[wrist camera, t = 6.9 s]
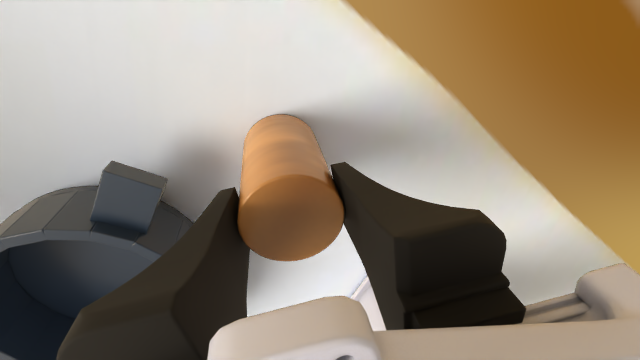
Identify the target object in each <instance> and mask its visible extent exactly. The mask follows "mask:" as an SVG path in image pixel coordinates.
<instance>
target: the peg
mask: <svg viewBox="0 0 640 360" xmlns="http://www.w3.org/2000/svg"><path fill="white" fill-rule="evenodd" d="M344 215H345V214H344V206H343V202H342V200H341V197H340V195H339V193H338V190H337V188H336V185H335V183H334V181H333V178H332V176H331V173H330V171H329V169H328V166H327V164H326V162H325V159H324V157H323V154H322V152H321V150H320V147H319V145H318V143H317V140H316V138H315V135H314V133H313V132H312V130H311V129H310V127H309V126H308V125H307V124H306V123H305V122H303V121H302V120H300V119H298V118H296V117H293V116H290V115H283V114H281V115H272V116H268V117H266V118H263V119H261V120H260V121H258V122H257V123H256V124H254V125H253V126H252V128H251V129H250V130H249V132H248V133H247V135H246V138H245V141H244V148H243V159H242V171H241V183H240V194H239V206H238V218H237V224H238V230H239V233H240V235H241V237H242V239H243V241H244V242H245V244H246V245H247V246H248V247H249V248H250V249H251V250H253V251H254V252H255V253H257V254H259V255H261V256H263V257H265V258H268V259H272V260H276V261H297V260H302V259H305V258H309V257H311V256H314V255H316V254H318V253H320V252H321V251H323V250H324V249H326V248H327V247H328V246H329V245H330V244H331V243H332V242H333V241H334V240H335V239H336V237H337V236H338V234H339V233H340V231H341V228H342V226H343V222H344Z"/></svg>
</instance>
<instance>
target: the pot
mask: <svg viewBox="0 0 640 360" xmlns="http://www.w3.org/2000/svg"><path fill="white" fill-rule="evenodd" d="M167 180H168V179H167V178H164V177H161V176H158V175H155V174H152V173H149V172H146V171H143V170H140V169H137V168H133V167H130V166H127V165H124V164H121V163H118V162H115V161H111V162H110V163H109V164H108V165H107V167H106V168H105V169H104V170H103V171H102V175H101V179H100V183H99V186H87V187H74V188H68V189H62V190H59V191H55V192H51V193H48V194H46V195H43V196H41V197H38V198H36V199H34V200H33V201H31V202H29V203H28V204H26V205H24V206H23V207H22V208H21V209H20V210H18V211H16V212H14V213H13V214H12V215H11V216H9V217H8V218H7V219H6V220H5V221H4V222H3V223H1V224H0V360H57V359H56V357H57V353H58V350H59V348H60V346H61V344H62V342H63V341H64V339H65V337H66V335H67V333H68V332H69V330H70V328H71V326H72V325H73V323H74V321H75V319H76V317H77V316H78V314H79V312H80V310H81V309H82V308H84V307H86V306H88V305H89V304H91V303H93V302H95V301H96V300H98V299H100V298H102V297H103V296H105V295H107V294H108V293H110V292H112V291H113V290H115V289H117V288H118V287H120V286H121V285H123V284H124V283H126V282H127V281H129V280H130V279H132V278H133V277H135V276H136V275H138V274H139V273H140V272H142V271H143V270H144V269H146V268H147V267H148V266H150V265H151V264H152V263H153V262H155V261H156V260H157V259H158V258H160V257H161V256H162V255H163V254H164V253H166V252H167V251H168V250H169V249H170V248H171V247H172V246H173V245H174V244H175V243H176V242H177V241H178V240H179V239H180V238H181V237H182V236H183V235H184V234H185V233H186V232H187V231H188V230H189V229H190V228H191V226H192V225H193V223H192V222H191V221H190V220H189V219H188V218H187V217H185V216H184V215H183V214H181V213H180V212H179V211H177V210H176V209H174V208H172V207H171V206H169V205H167V204H165V203H163V202H161V201H160V199H161V197H162V194H163V191H164V188H165V186H166V183H167Z"/></svg>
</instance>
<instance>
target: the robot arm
mask: <svg viewBox="0 0 640 360" xmlns="http://www.w3.org/2000/svg"><path fill="white" fill-rule="evenodd" d="M331 170H332V176H333V181H334V183H335V185H336V188H337V190H338V193H339V195H340V197H341V200H342V202H343V206H344V214H345V215H344V222H343V223H344V225H345V227H346V229H347V231H348V234H349V236H350V238H351V240H352V242H353V244H354V246H355V248H356V250H357V252H358V254H359V256H360V258H361V260H362V263H363V265H364V267H365V270H366V273H367V277H366V278H365V279H364V281H363V282H362V283H361V285H360V286H359V287H358V288H357V290H356V291H355V292H354V294H353V295H352V296H351V298H348V297H345V296H334V297H323V298H320V299H316V300H312V301H308V302H304V303H300V304H296V305H293V306H289V307H285V308H281V309H277V310H273V311H269V312H266V313H262V314H258V315H254V316H250V317H247V304H246V297H247V280H248V268H249V255H250V248H249V247H248V246H247V245H246V244H245V242H244V241H243V239H242V237H241V235H240V233H239V230H238V224H237V218H238V206H239V197H238V194H237V191H236V189H235V187H234V188H229V189H225V190H221V191H220V192H219V193H218V194H217V195H216V197H215V198H214V199H213V200H212V202H211V203H210V204H209V206H208V207H207V208H206V210H205V211H204V212H203V213H202V215H201V216H200V217H199V218H198V220H197V221H196V222H195V223H194V224H193V225H192V226H191V228H190V229H189V230H188V231H187V232H186V233H185V234H184V235H183V236H182V237H181V238H180V239H179V240H178V241H177V242H176V243H175V244H174V245H173V246H172V247H171V248H170V249H169V250H168V251H167V252H166V253H164V254H163V255H162V256H161V257H160V258H158V259H157V260H156V261H155V262H153V263H152V264H151V265H150V266H148V267H147V268H146V269H144V270H143V271H142V272H140V273H139V274H138V275H136V276H135V277H133V278H132V279H130V280H129V281H127V282H126V283H124V284H123V285H121V286H120V287H118V288H117V289H115V290H113V291H112V292H110V293H108V294H107V295H105V296H103V297H102V298H100V299H98V300H96V301H95V302H93V303H91V304H89V305H88V306H86V307H84V308H82V309H81V310H80V312H79V314H78V316H77V317H76V319H75V321H74V323H73V325H72V326H71V328H70V330H69V332H68V333H67V335H66V337H65V339H64V341H63V342H62V344H61V346H60V348H59V350H58V353H57V357H56V359H57V360H640V275H639V274H638V273H637V272H635V271H634V270H632V269H631V268H630V267H628V266H627V265H626V264H616V265H612V266H608V267H605V268H601V269H597V270H594V271H590V272H588V273H586V274H584V275H583V276H582V277H580V279H579V280H578V282H577V284H576V288H575V293H571V294H568V295H564V296H560V297H557V298H553V299H549V300H545V301H542V302H538V303H534V304H531V305H527V306H524V305H523V304H522V303H521V302H520V301H519V299H518V298H517V297H516V296H515V295H514V294H513V292H512V291H511V290H510V289H509V288H508V286H509V285H510V282H509V280H508V279H507V278H506V276H505V275H504V274H503V273H502V272H501V270H502V266H503V261H504V256H505V251H506V238H505V235H504V233H503V232H502V231H501V230H500V229H499V228H498V227H497V226H496V225H495V224H494V223H493V222H492V221H491V220H490V219H489V218H488V217H487V216H486V215H484V214H483V213H482V212H481V211H480V210H475V209H466V208H456V207H449V206H444V205H439V204H434V203H429V202H425V201H422V200H418V199H415V198H412V197H409V196H406V195H403V194H400V193H398V192H395V191H393V190H391V189H388V188H386V187H384V186H382V185H380V184H379V183H377V182H375V181H373V180H371V179H370V178H368V177H366V176H365V175H363V174H362V173H360V172H359V171H357V170H356V169H354V168H353V167H351V166H350V165H349V164H347V163H346V162H342V163H338V164H333V165H331Z"/></svg>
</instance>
